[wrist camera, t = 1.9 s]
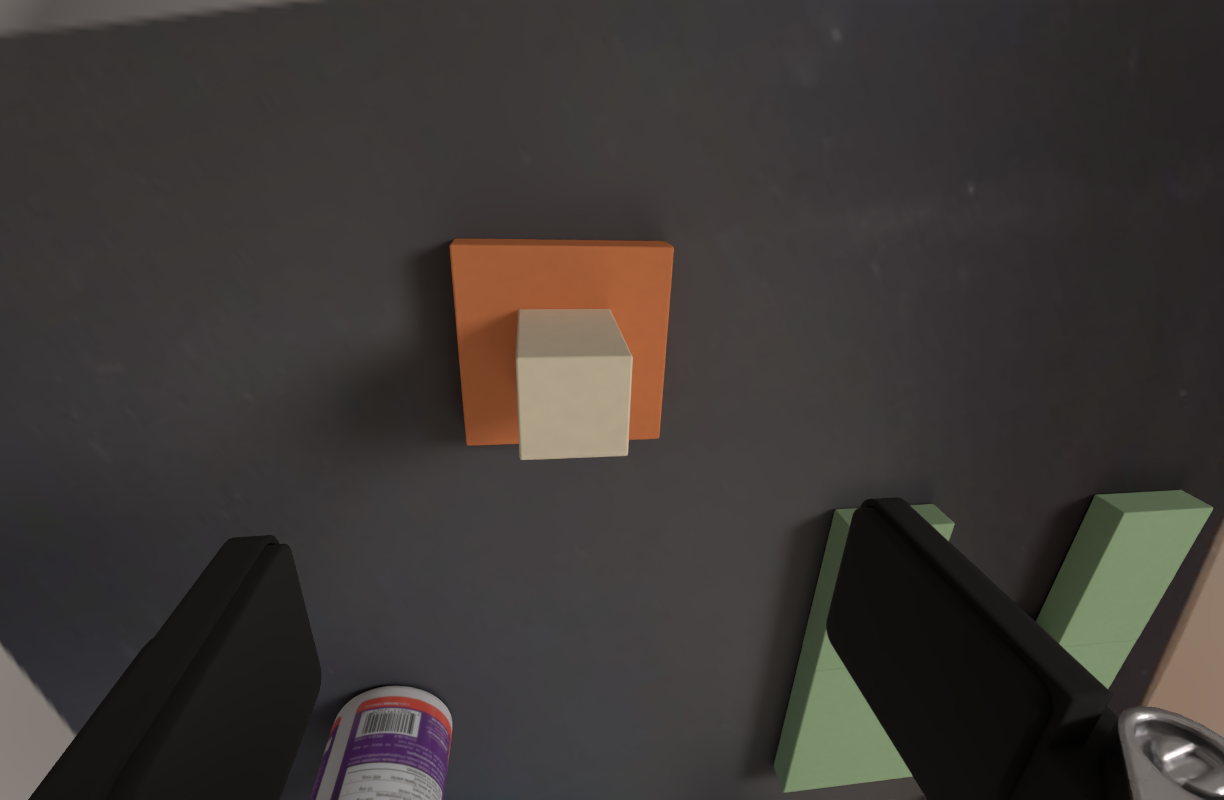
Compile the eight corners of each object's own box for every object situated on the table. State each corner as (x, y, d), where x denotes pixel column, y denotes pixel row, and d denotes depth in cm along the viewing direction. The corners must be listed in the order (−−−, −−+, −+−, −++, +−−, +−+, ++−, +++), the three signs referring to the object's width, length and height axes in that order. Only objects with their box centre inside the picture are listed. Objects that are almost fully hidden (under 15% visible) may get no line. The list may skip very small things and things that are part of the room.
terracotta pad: (666, 240, 19) (717, 278, 14) (653, 424, 22) (690, 511, 17) (453, 237, 18) (424, 277, 13) (469, 430, 21) (450, 525, 16)
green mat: (1180, 489, 27) (1214, 507, 26) (1048, 733, 35) (1069, 757, 34) (834, 508, 25) (851, 529, 24) (772, 766, 33) (783, 793, 31)
